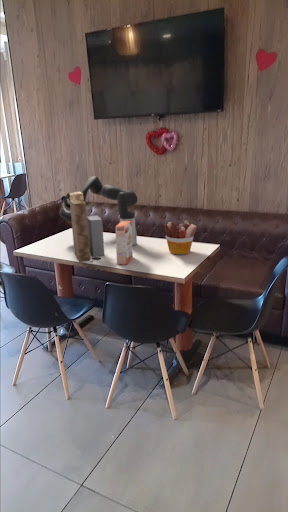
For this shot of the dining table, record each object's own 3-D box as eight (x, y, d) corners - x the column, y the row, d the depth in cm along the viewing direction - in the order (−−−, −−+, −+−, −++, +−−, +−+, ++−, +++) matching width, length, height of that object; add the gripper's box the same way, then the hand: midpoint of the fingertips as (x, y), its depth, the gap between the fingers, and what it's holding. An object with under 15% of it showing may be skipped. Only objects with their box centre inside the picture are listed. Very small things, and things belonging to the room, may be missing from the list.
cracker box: (127, 265, 192) (125, 226, 185) (116, 264, 193) (114, 226, 187) (133, 256, 205) (132, 220, 198) (123, 256, 206) (121, 220, 200)
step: (99, 250, 218) (96, 215, 212) (104, 256, 208) (102, 219, 201) (88, 252, 216) (85, 216, 210) (93, 257, 206) (90, 220, 199)
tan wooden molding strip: (75, 197, 212) (74, 188, 211) (83, 203, 191) (82, 193, 190) (68, 197, 211) (67, 189, 210) (76, 203, 190) (75, 194, 188)
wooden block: (84, 253, 214) (80, 199, 204) (90, 260, 201) (85, 202, 191) (74, 255, 212) (69, 200, 202) (79, 261, 199) (74, 203, 189)
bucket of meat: (175, 246, 222) (174, 214, 216) (199, 250, 213) (200, 216, 207) (158, 255, 206) (157, 220, 200) (184, 259, 198) (184, 223, 192)
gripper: (82, 209, 224) (86, 199, 208) (59, 212, 219) (61, 201, 203) (80, 198, 225) (84, 186, 209) (57, 200, 220) (59, 188, 204)
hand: (73, 194), depth 206 cm, fingers closed on tan wooden molding strip, 4 cm apart
